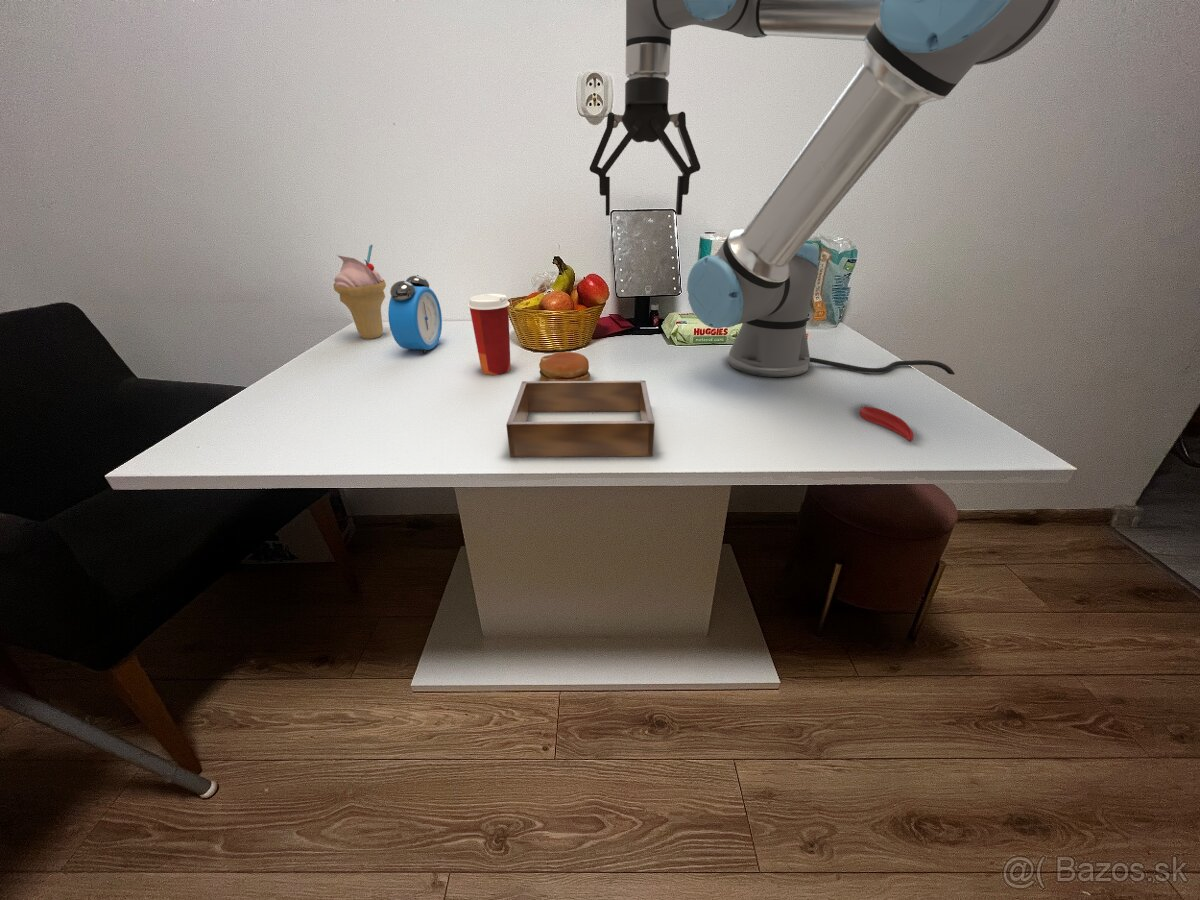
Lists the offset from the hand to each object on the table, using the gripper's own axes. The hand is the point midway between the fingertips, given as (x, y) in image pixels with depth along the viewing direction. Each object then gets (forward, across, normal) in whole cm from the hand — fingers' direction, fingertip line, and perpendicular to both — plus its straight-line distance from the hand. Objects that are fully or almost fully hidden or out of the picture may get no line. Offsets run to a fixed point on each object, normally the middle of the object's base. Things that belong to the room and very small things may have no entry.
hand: (643, 215), depth 98 cm
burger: (+27, +15, +18) cm, 36 cm away
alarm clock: (+27, +48, -2) cm, 55 cm away
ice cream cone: (+27, +63, -12) cm, 70 cm away
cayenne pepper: (+27, -35, +37) cm, 58 cm away
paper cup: (+27, +29, +12) cm, 41 cm away
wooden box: (+27, +11, +39) cm, 49 cm away
